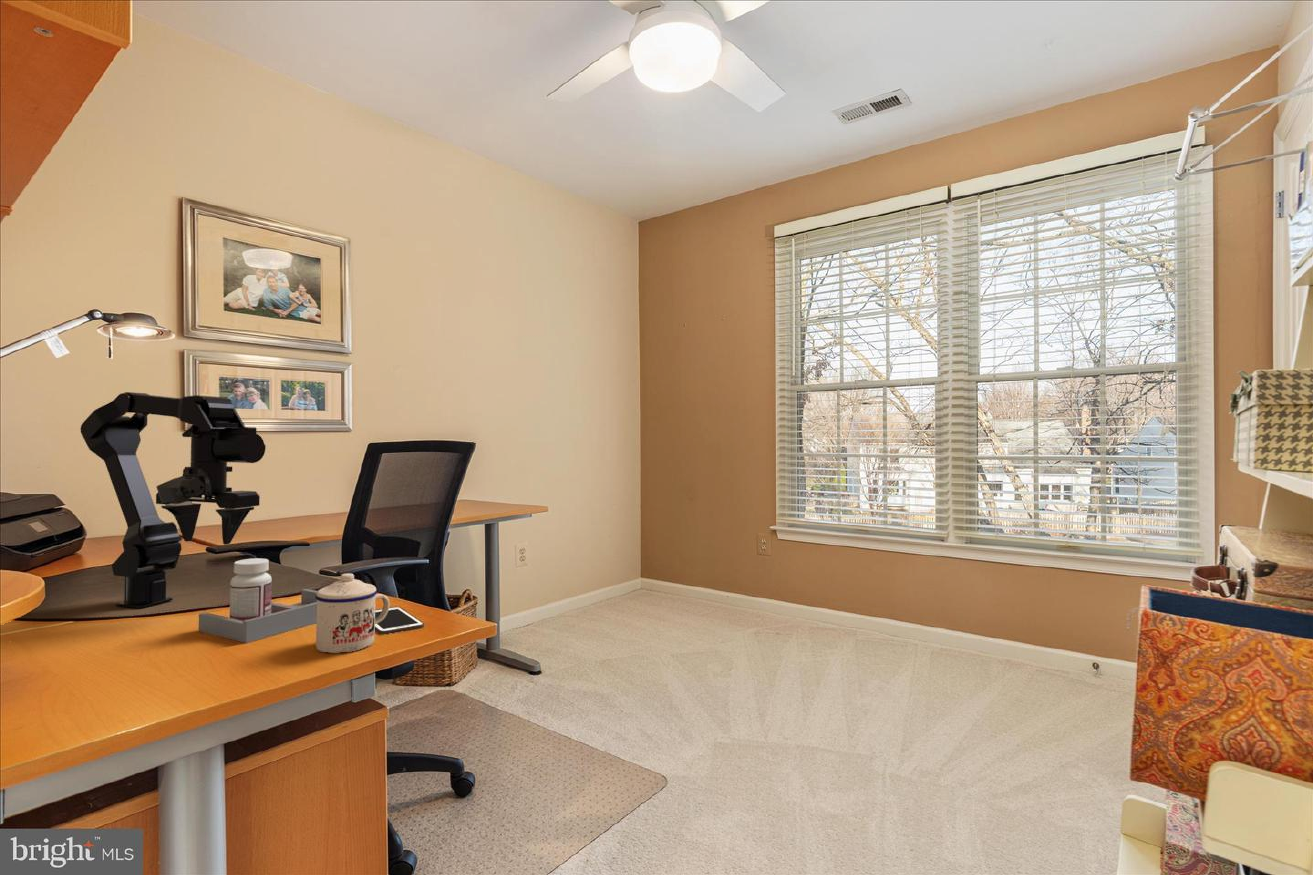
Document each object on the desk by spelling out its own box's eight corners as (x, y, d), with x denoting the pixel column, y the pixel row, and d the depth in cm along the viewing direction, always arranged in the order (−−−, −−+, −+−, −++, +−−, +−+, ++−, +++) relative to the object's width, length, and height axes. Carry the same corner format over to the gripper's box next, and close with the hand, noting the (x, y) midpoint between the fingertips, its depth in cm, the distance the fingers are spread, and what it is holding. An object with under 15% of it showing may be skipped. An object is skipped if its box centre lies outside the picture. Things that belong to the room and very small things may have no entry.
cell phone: (398, 610, 124) (398, 605, 124) (425, 629, 113) (425, 624, 113) (357, 617, 119) (357, 612, 119) (380, 637, 108) (381, 631, 108)
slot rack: (198, 630, 107) (198, 610, 107) (305, 603, 126) (306, 586, 126) (246, 643, 102) (246, 621, 102) (351, 612, 120) (351, 594, 120)
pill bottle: (258, 617, 114) (260, 556, 114) (278, 623, 111) (279, 560, 111) (221, 626, 108) (223, 561, 108) (241, 632, 106) (242, 566, 105)
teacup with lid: (331, 659, 96) (333, 583, 96) (303, 646, 101) (305, 574, 101) (402, 639, 106) (404, 571, 106) (373, 628, 111) (375, 563, 111)
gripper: (126, 461, 114) (124, 546, 114) (209, 464, 109) (207, 553, 109) (185, 459, 124) (184, 537, 125) (262, 462, 120) (260, 543, 120)
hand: (207, 542), depth 119 cm, fingers open, 9 cm apart
